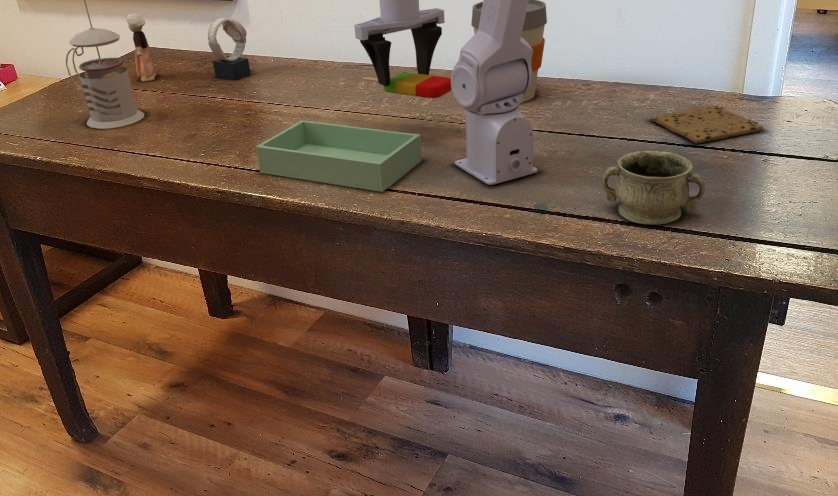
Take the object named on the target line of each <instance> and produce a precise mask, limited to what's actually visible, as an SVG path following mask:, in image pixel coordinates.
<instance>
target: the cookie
mask: <svg viewBox="0 0 838 496" xmlns="http://www.w3.org/2000/svg"><path fill="white" fill-rule="evenodd" d="M649 121H651V122H653V123H657V124H658V125H660V126H662V127H664V128H666V129H667V130H669V131H671V132H673V133H675V134H678V135H680V136H683V137H684V138H686V139H688V140H689V141H690V142H693V143H694V144H701V143H707V142H710V141H711V142H713V141H717V140H723V139H727V138H732V137H737V136H741V135H742V136H743V135H746V134H753V133H758V132H762V131H763V130H764V127H763V125H761V124H759V123H758V121H753V120H752V119H751V118H746V117H743V116H741V115H738V114H735V113H734V112H731V111H729V110H728V109H726V108H724V107H722V106H719V105H713V104H712V105H706V106H701V107H697V108H696V107H693V108H691V109H685V110H680V111H675V112H674V111H673V112H670V113H663V114H658V115H651V116H649Z"/></svg>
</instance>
